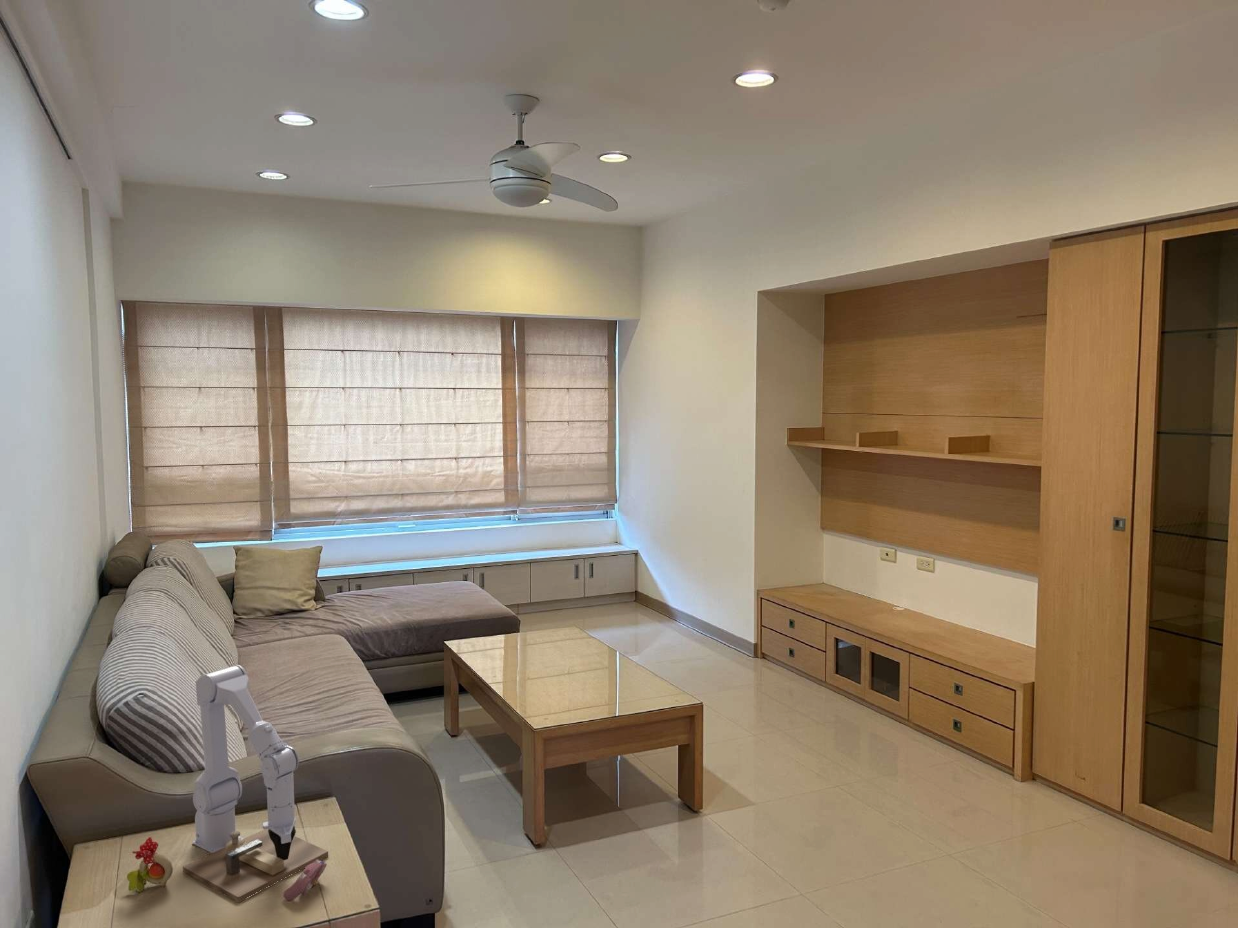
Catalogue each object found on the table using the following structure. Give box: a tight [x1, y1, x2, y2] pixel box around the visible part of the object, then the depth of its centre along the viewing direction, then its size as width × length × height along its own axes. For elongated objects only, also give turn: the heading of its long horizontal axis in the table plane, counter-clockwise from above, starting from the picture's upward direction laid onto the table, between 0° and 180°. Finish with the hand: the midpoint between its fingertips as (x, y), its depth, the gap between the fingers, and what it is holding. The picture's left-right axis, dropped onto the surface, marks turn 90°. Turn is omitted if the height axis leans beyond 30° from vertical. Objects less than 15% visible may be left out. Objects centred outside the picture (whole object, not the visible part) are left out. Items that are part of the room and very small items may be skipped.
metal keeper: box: [226, 839, 262, 876], centre depth 201 cm, size 2×8×5 cm, turn 145°
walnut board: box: [182, 829, 329, 903], centre depth 205 cm, size 22×23×1 cm
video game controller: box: [283, 859, 328, 901], centre depth 194 cm, size 10×5×7 cm, turn 169°
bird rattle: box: [126, 836, 174, 893], centre depth 195 cm, size 6×11×9 cm
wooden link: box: [226, 830, 284, 875], centre depth 203 cm, size 18×4×5 cm, turn 57°
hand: (282, 859), depth 202 cm, fingers closed
